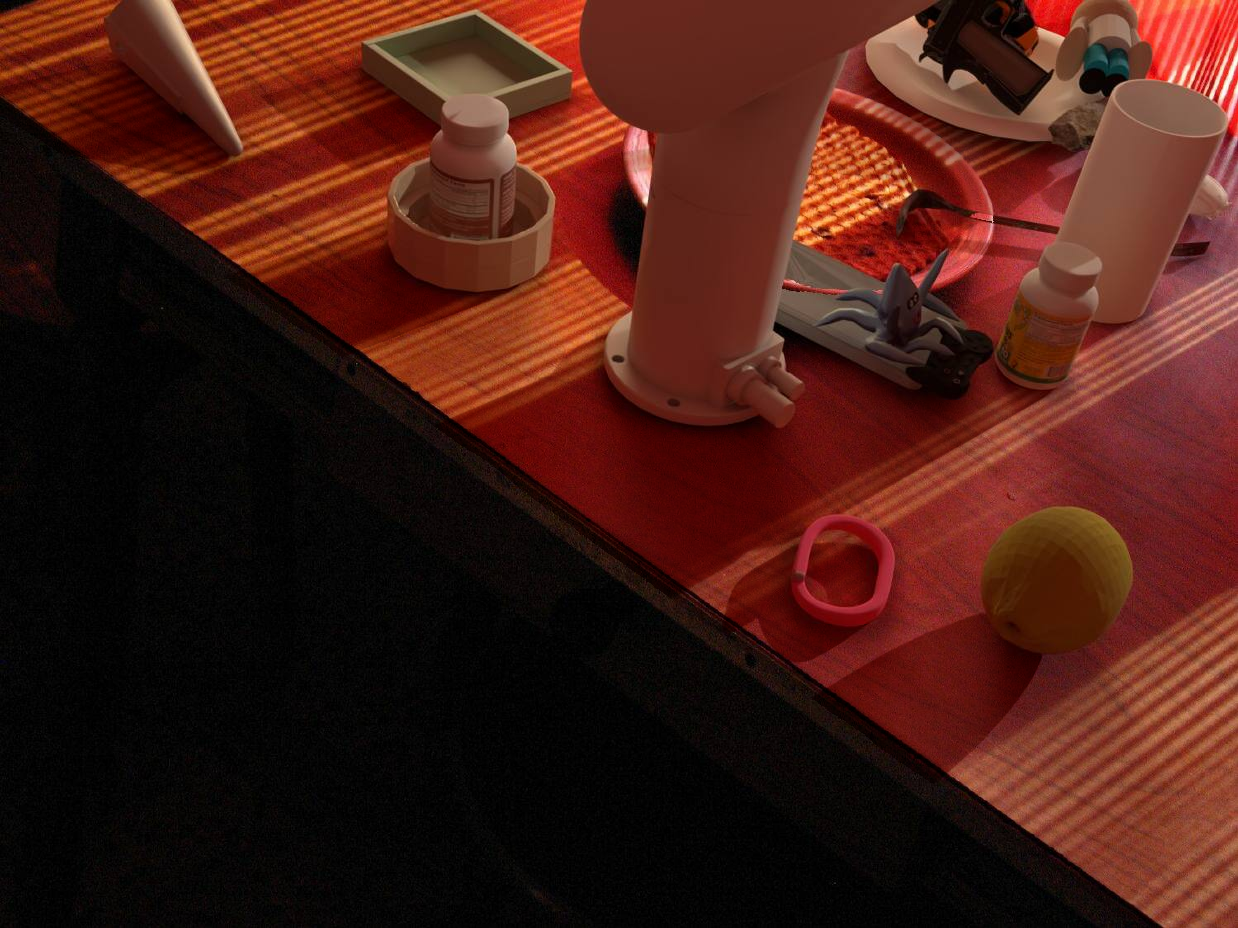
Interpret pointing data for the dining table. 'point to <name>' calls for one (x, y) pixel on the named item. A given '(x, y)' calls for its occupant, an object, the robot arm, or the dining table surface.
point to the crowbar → (1008, 220)
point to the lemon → (1056, 580)
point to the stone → (1078, 126)
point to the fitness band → (884, 578)
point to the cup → (1141, 187)
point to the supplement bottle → (1050, 317)
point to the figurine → (917, 331)
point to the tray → (465, 65)
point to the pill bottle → (473, 170)
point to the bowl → (469, 259)
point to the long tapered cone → (170, 64)
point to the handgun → (984, 53)
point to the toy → (1103, 47)
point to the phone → (842, 335)
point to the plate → (970, 87)
